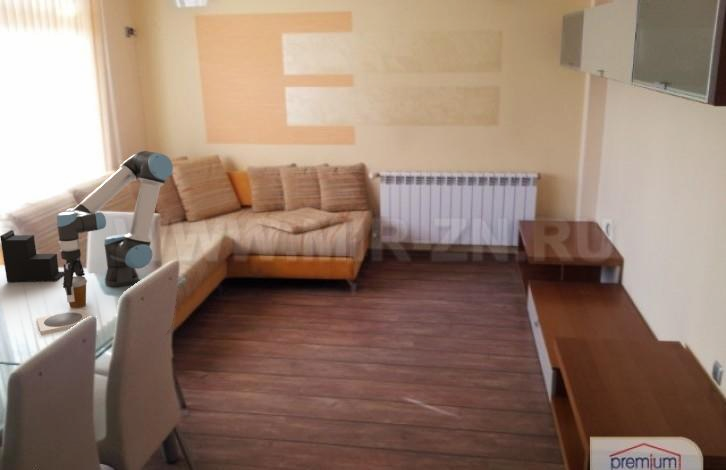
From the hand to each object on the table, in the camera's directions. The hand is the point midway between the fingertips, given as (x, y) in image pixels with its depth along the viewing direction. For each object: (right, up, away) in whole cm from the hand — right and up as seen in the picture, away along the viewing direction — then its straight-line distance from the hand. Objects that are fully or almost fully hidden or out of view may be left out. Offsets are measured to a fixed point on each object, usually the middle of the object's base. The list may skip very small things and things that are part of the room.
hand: (76, 295), depth 258 cm
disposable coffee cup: (0, -5, +1) cm, 5 cm away
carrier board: (+3, -9, -16) cm, 19 cm away
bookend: (-36, +5, +35) cm, 51 cm away
